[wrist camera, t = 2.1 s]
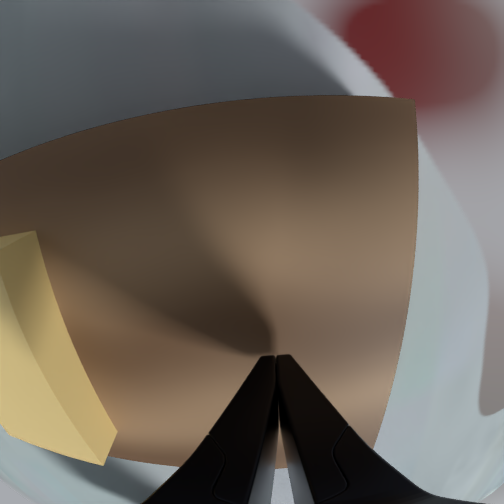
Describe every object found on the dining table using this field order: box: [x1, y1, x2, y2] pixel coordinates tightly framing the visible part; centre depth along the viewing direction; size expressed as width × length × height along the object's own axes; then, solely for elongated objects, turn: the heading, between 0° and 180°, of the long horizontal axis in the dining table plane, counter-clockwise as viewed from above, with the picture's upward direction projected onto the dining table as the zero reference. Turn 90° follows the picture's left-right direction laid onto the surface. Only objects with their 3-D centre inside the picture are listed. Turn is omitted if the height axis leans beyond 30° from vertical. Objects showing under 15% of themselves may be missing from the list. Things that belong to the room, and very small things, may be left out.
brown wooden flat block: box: [0, 95, 418, 469], centre depth 11 cm, size 14×20×4 cm
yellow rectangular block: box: [0, 231, 118, 466], centre depth 9 cm, size 9×6×2 cm, turn 5°
